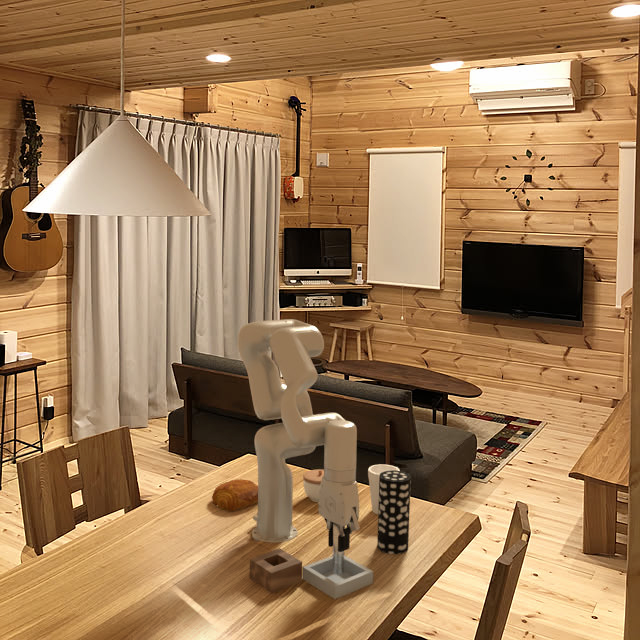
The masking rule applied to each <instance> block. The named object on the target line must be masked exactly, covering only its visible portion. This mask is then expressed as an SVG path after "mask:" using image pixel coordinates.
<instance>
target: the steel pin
mask: <svg viewBox="0 0 640 640" xmlns="http://www.w3.org/2000/svg"><path fill="white" fill-rule="evenodd" d="M339 535H340V525H338V524H336V523H333V546H332V556H333V571H332V572H333V573H334V574H343V573H344V555H345V551H342V552H339V551H338V536H339Z"/></svg>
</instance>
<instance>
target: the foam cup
mask: <svg viewBox="0 0 640 640" xmlns="http://www.w3.org/2000/svg"><path fill="white" fill-rule="evenodd" d="M384 471H401V470H400V468H399V467H398V466H394V465H391V464H374V465H370V466H369V467H368V470H367V477H368V483H369V485H368V486H369V491H370V503H371V510H372V513H374V514H375V515H378V507H379V475H380V473H382V472H384Z"/></svg>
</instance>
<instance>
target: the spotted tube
mask: <svg viewBox="0 0 640 640" xmlns="http://www.w3.org/2000/svg"><path fill="white" fill-rule="evenodd" d="M411 477H412V476H411V474H410V473H407V472H404V471H401V470H400V471H384V472H382V473H380V475H379V507H378V514H377V542H376V543H377V544H376V547H377V549H378V550H379V551H380V552H382V553H385V554H389V555H400V554H404V553H406V552H407V551H408V550H409V535H410V513H411V512H410V508H411V504H410V503H411V483H412V481H411V480H412V479H411Z"/></svg>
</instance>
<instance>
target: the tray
mask: <svg viewBox="0 0 640 640" xmlns="http://www.w3.org/2000/svg"><path fill="white" fill-rule="evenodd" d="M332 571H333V555H331V556H328V557H326V558H323V559H321V560H317V561H315V562H312V563H309V564H307V565H304V566H302V580H303V581H305V582H307V583H308V584H310V585H311V586H313V587H315V588H316V589H318V590H319V591H321V592H323V594H326V595H327V596H329V597H331V598H332V599H334V600H337V599H339V598H342V597H344V596H346V595H349V594H351V593H354V592H355V591H357V590H360V589H362V588H363V589H364V588H365V587H368V586H370V585H372V584H373V583H374V571H373V570H372V569H370V568H368V567H366V566H365V565H363V564H361V563H359V562H357V561H355V560H354V559H353V558H352V559H351V558H350V557H348V556H347V555H345V554H344V573H343V574H334V573H333V572H332Z"/></svg>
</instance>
